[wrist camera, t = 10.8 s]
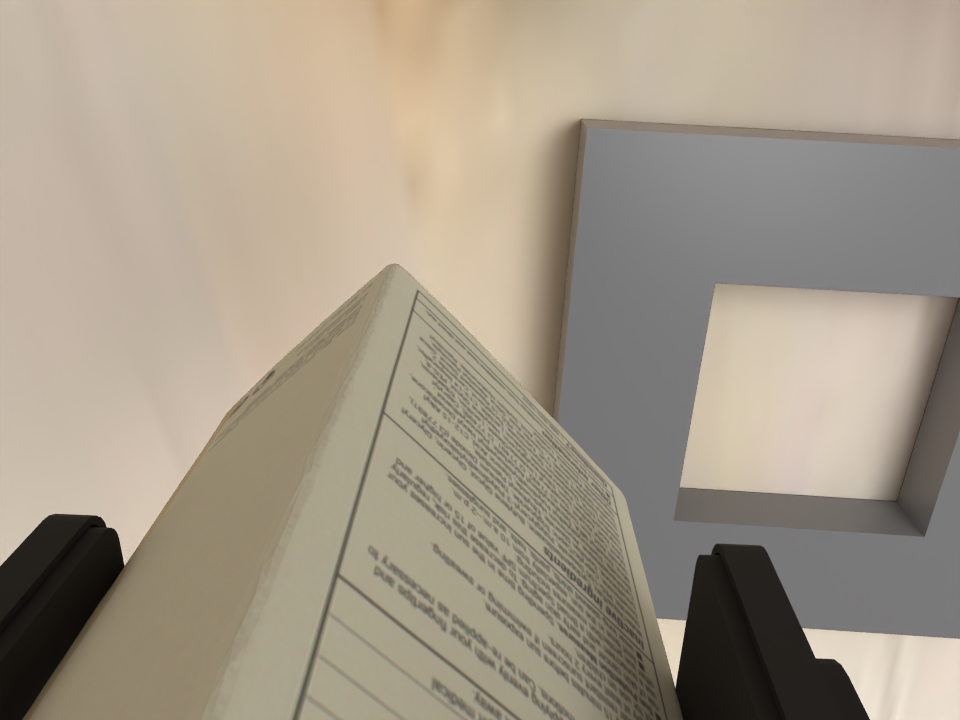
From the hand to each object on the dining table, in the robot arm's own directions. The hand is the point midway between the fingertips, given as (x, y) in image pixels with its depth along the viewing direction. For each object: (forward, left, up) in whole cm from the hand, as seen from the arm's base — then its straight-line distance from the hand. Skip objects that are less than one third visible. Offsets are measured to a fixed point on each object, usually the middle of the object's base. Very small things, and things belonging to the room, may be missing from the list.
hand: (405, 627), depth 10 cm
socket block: (+6, +13, -22) cm, 26 cm away
